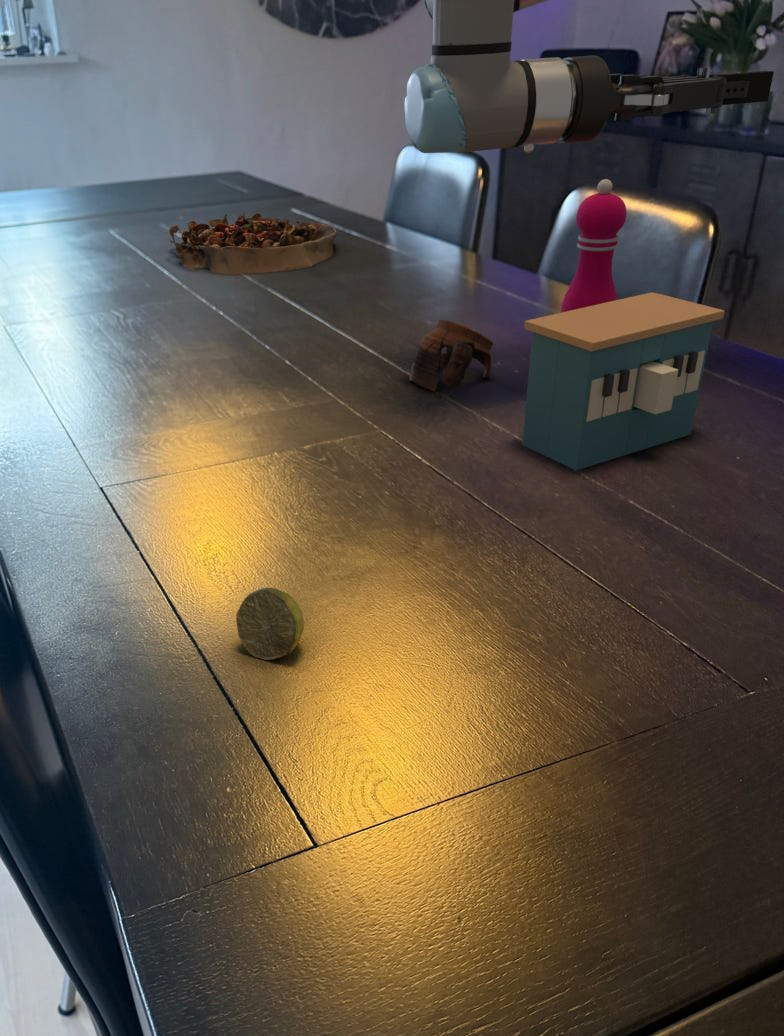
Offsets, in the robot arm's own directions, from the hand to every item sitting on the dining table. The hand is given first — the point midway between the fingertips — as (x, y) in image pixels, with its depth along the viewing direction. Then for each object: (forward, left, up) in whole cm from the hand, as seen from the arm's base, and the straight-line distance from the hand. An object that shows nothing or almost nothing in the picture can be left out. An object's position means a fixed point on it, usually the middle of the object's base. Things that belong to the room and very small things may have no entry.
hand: (766, 86), depth 97 cm
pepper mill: (+14, -10, -30) cm, 35 cm away
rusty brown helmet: (+31, +7, -30) cm, 44 cm away
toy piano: (+14, +24, -30) cm, 41 cm away
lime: (+41, +66, -30) cm, 83 cm away
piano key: (+11, +27, -25) cm, 38 cm away
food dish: (+73, -67, -30) cm, 104 cm away
